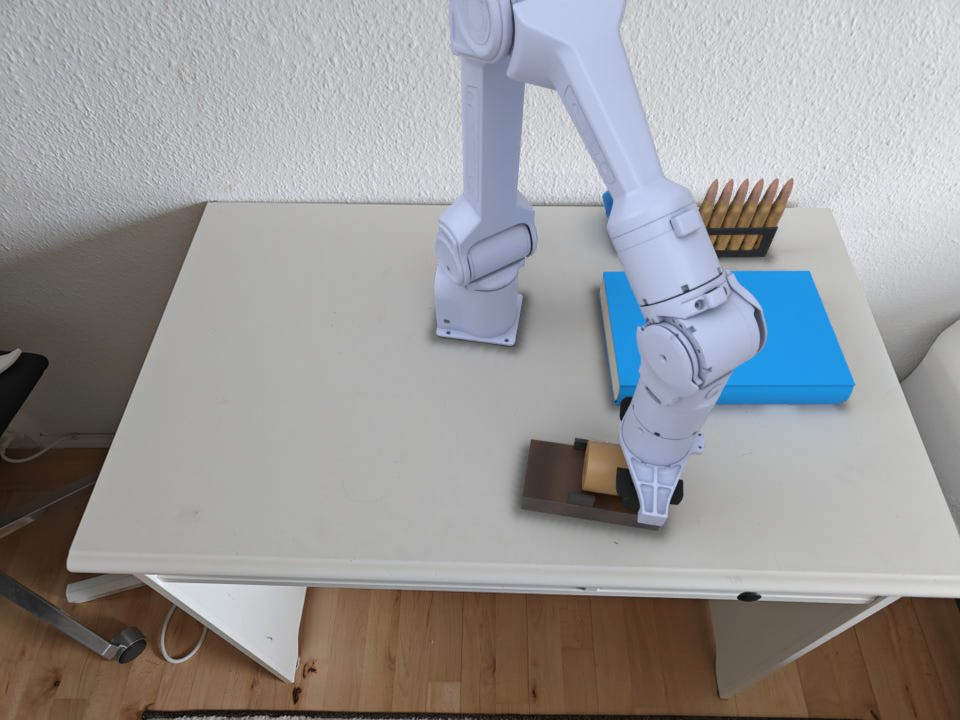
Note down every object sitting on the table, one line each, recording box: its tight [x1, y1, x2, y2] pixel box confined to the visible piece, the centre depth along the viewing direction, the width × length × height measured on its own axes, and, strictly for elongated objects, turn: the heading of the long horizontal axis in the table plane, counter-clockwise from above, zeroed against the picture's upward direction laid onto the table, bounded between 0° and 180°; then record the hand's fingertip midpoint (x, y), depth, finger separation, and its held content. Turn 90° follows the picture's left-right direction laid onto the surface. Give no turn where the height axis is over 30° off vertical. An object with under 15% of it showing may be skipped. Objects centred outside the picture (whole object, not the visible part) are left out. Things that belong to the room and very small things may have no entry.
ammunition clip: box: [698, 177, 795, 258], centre depth 79 cm, size 11×2×12 cm, turn 91°
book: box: [598, 270, 856, 405], centre depth 73 cm, size 17×4×25 cm
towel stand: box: [520, 437, 662, 531], centre depth 63 cm, size 14×6×5 cm, turn 80°
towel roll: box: [582, 439, 629, 496], centre depth 60 cm, size 7×5×5 cm
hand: (635, 480), depth 61 cm, fingers closed on towel roll, 5 cm apart
